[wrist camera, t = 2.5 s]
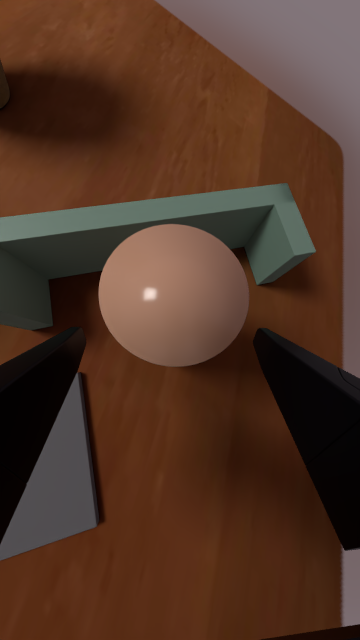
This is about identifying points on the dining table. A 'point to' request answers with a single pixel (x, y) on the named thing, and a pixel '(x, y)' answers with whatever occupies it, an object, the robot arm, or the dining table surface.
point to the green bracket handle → (129, 218)
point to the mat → (57, 484)
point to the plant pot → (3, 88)
